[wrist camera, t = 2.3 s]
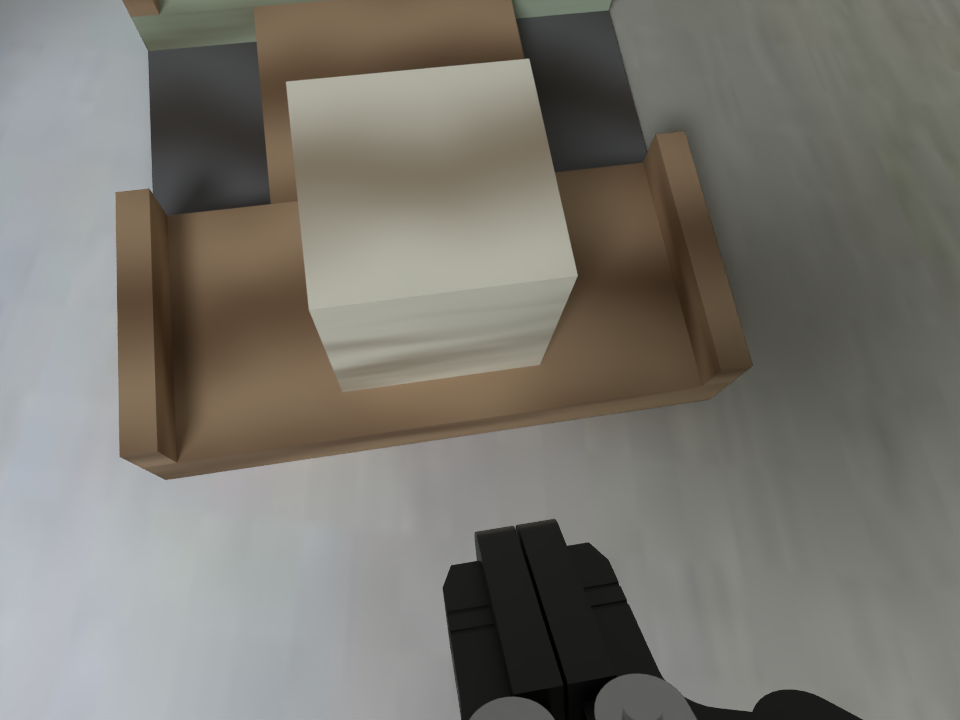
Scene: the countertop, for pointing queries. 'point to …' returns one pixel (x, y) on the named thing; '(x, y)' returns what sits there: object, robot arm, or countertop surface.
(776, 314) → the countertop surface
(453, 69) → the block
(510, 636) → the robot arm
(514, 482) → the countertop surface
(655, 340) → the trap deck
